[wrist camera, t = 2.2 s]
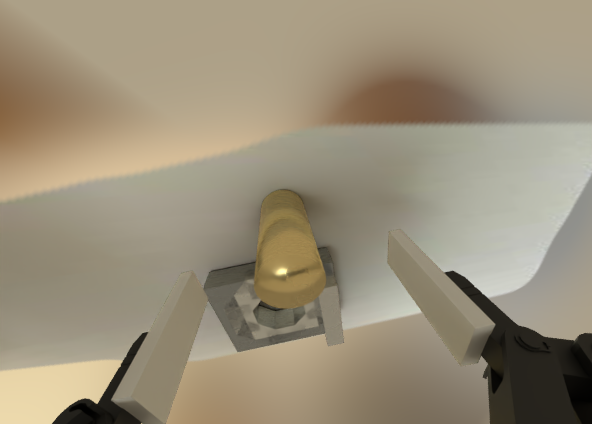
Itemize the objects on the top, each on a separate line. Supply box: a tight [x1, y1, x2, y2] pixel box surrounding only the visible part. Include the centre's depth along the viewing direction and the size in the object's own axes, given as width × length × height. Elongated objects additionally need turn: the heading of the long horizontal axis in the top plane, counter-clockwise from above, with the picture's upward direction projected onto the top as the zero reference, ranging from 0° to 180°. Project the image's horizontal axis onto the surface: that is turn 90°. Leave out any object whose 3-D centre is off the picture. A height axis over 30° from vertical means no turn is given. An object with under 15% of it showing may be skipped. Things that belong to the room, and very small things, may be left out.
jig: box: [203, 248, 344, 352], centre depth 25 cm, size 14×12×5 cm
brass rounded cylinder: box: [254, 190, 326, 309], centre depth 17 cm, size 4×4×10 cm
